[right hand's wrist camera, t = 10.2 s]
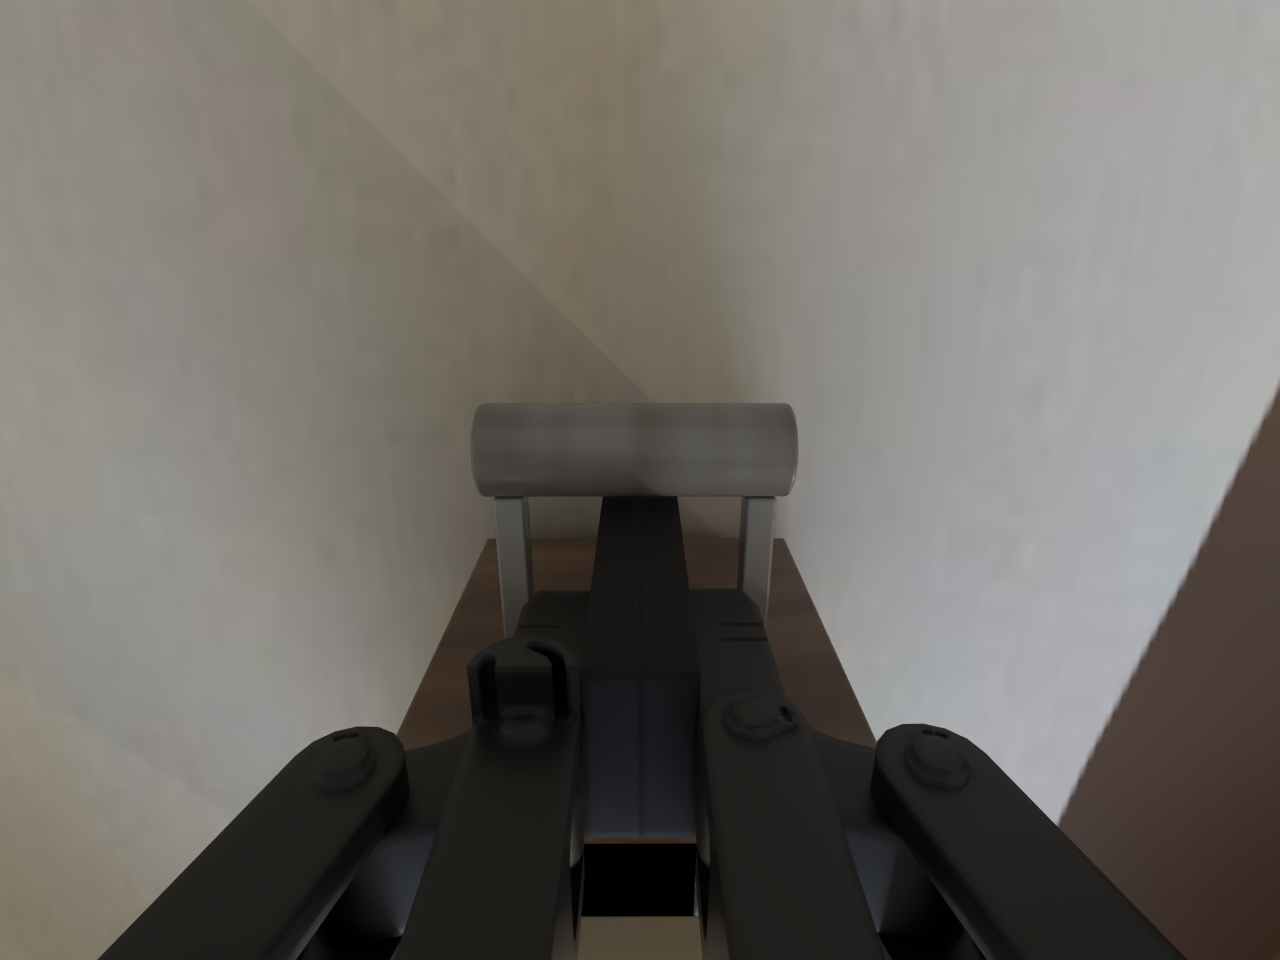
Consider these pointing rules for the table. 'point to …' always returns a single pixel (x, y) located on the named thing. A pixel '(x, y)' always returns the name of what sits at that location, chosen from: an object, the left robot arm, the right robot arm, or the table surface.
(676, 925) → the cabinet
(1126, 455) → the table surface
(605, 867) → the drawer
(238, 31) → the table surface
